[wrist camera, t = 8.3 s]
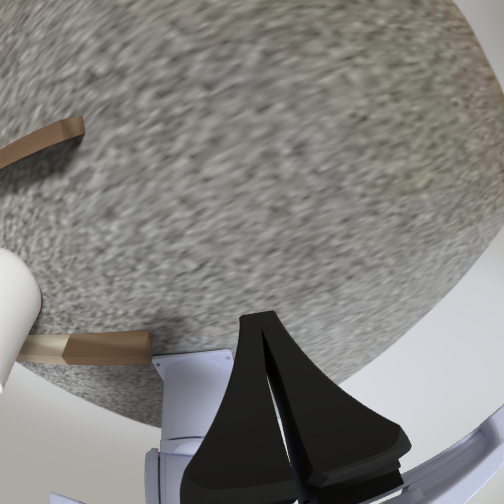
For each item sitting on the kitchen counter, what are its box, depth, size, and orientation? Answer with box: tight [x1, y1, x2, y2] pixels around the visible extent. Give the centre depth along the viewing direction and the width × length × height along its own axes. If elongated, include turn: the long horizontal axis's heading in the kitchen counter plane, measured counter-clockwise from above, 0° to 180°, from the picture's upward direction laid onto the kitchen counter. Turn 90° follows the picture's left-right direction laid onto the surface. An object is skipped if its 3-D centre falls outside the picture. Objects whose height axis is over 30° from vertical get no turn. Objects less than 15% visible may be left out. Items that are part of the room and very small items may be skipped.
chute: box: [0, 116, 152, 365], centre depth 16 cm, size 19×18×3 cm
